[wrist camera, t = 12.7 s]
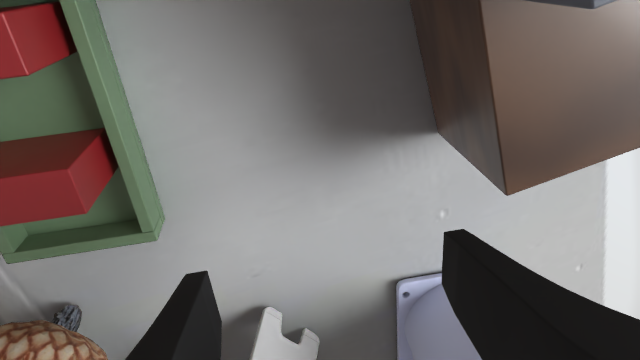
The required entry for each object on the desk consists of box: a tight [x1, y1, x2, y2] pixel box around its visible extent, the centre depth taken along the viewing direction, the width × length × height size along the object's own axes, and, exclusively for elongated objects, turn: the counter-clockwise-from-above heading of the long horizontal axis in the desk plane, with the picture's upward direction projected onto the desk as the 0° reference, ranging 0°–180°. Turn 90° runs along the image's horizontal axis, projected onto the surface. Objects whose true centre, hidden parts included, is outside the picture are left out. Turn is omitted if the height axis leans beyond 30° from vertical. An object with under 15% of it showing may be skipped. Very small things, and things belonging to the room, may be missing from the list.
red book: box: [0, 128, 119, 227], centre depth 18 cm, size 2×5×4 cm, turn 96°
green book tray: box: [0, 0, 165, 264], centre depth 18 cm, size 15×7×2 cm, turn 6°
